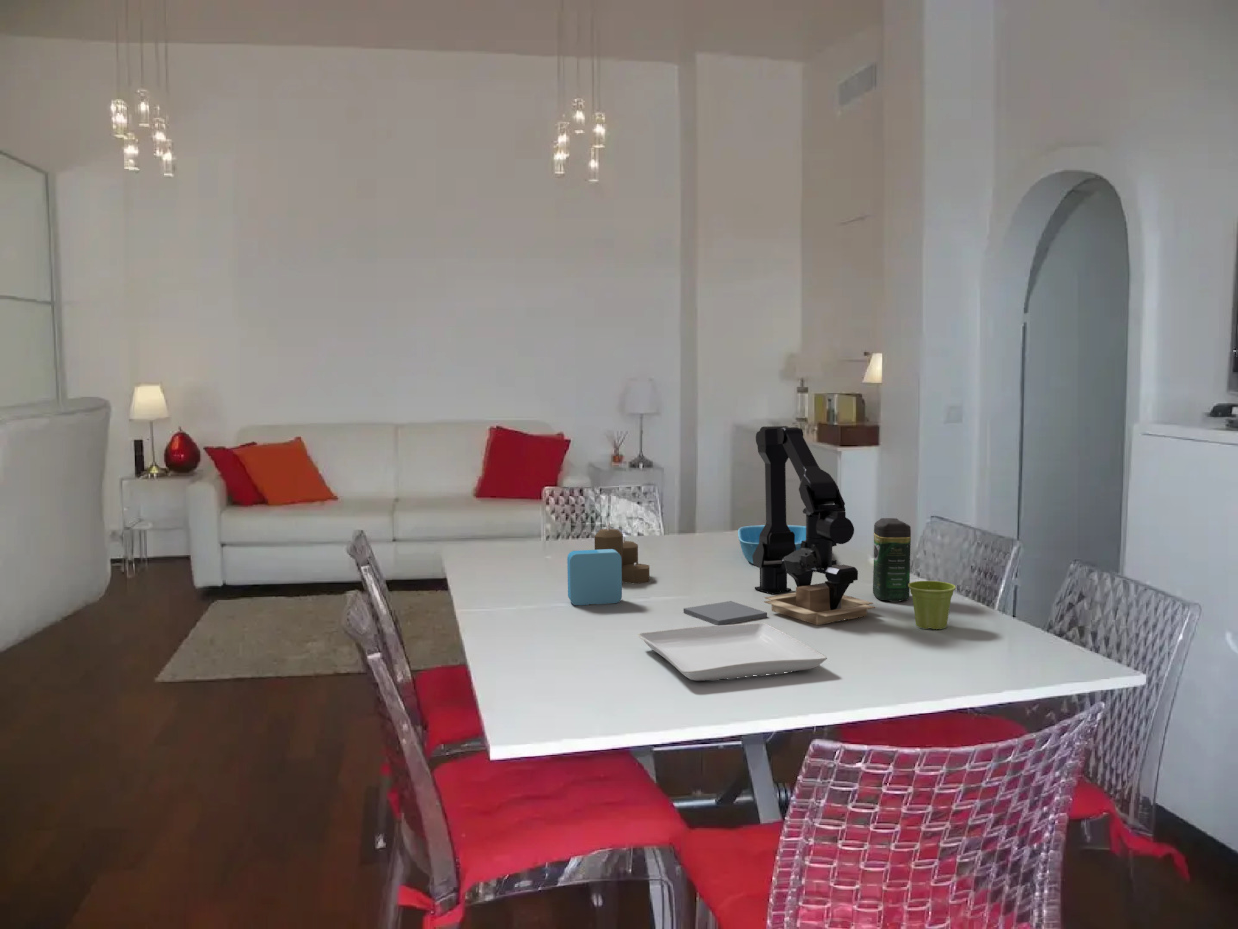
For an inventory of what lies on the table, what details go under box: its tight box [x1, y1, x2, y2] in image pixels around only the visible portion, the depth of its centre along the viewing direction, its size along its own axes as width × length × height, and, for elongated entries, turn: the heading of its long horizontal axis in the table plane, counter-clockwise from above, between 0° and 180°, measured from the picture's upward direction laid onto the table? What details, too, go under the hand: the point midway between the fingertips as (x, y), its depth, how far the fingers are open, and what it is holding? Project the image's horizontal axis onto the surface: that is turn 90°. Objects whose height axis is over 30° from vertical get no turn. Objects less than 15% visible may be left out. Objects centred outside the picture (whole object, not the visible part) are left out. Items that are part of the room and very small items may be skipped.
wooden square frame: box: [763, 591, 876, 626], centre depth 224 cm, size 20×19×2 cm
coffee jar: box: [872, 517, 912, 603], centre depth 237 cm, size 10×8×19 cm
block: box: [795, 582, 841, 613], centre depth 224 cm, size 4×9×6 cm, turn 121°
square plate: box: [637, 622, 828, 681], centre depth 189 cm, size 27×27×4 cm
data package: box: [566, 549, 623, 606], centre depth 236 cm, size 12×4×12 cm, turn 101°
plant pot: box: [908, 580, 957, 631], centre depth 212 cm, size 9×9×9 cm
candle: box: [594, 521, 650, 584], centre depth 261 cm, size 14×14×15 cm
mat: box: [683, 600, 768, 626], centre depth 224 cm, size 13×13×1 cm
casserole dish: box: [737, 524, 806, 565], centre depth 289 cm, size 37×22×7 cm, turn 174°
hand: (818, 606), depth 224 cm, fingers open, 9 cm apart
